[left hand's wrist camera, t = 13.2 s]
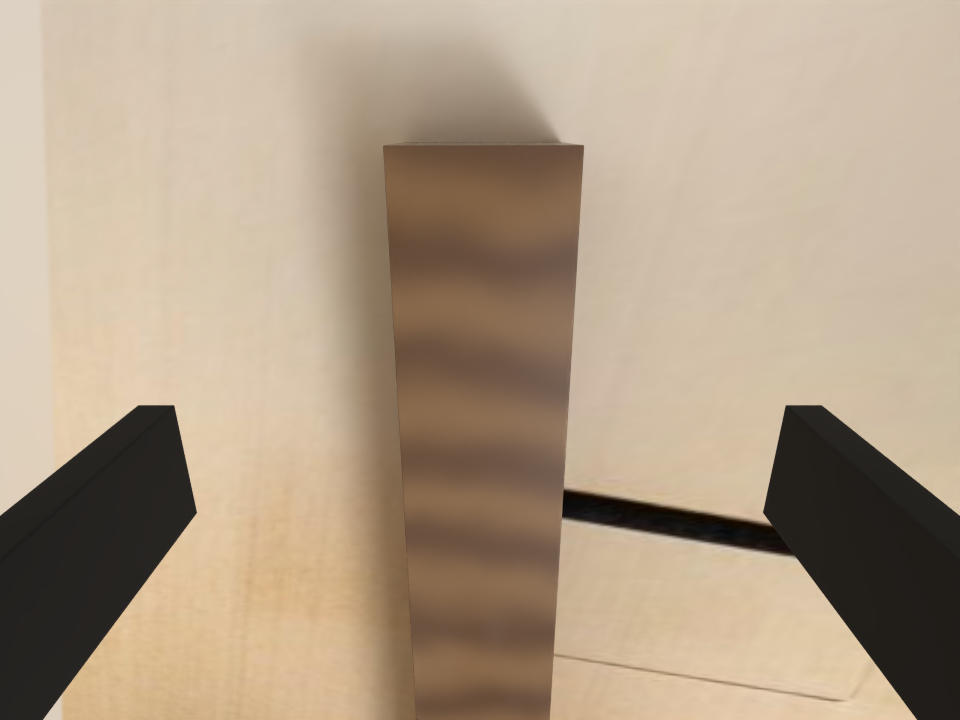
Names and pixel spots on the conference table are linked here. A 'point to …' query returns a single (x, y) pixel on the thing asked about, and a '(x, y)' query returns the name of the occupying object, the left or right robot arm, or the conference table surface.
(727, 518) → the conference table surface
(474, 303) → the thick board
